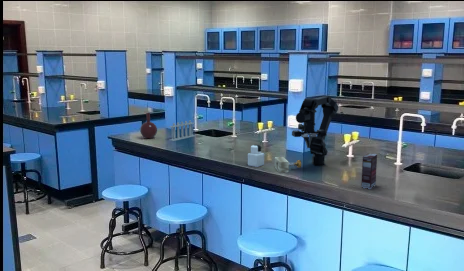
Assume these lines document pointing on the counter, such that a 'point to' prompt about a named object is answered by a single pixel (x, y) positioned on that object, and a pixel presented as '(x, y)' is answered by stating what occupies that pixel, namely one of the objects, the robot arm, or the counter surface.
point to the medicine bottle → (255, 156)
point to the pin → (296, 164)
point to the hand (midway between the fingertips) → (308, 148)
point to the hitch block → (281, 165)
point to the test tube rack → (181, 131)
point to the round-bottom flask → (148, 128)
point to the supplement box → (369, 170)
